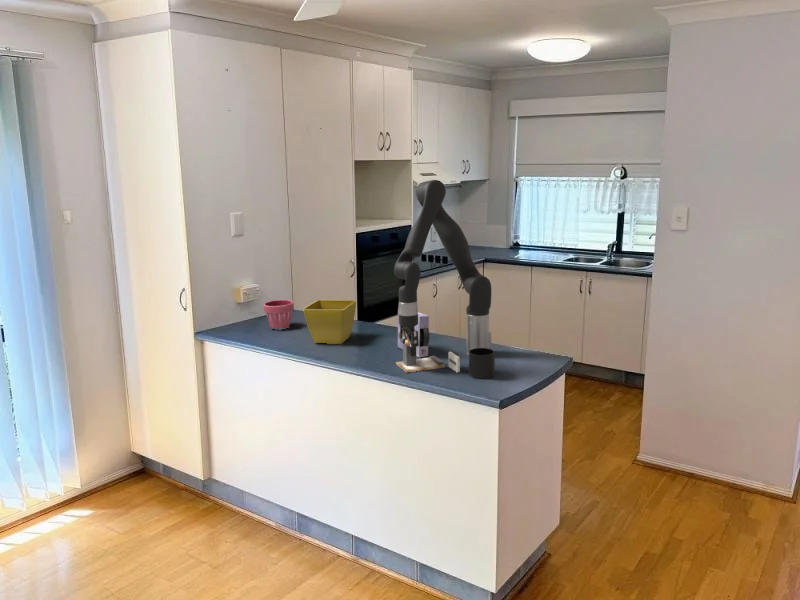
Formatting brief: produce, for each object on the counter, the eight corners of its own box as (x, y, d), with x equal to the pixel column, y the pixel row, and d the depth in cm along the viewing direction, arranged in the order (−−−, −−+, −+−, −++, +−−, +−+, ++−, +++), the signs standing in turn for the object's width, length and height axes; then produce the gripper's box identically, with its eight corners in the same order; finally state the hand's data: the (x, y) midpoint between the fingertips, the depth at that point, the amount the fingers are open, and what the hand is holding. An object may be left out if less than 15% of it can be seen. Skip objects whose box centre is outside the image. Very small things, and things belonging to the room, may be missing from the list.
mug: (503, 371, 244) (503, 348, 242) (485, 380, 235) (485, 356, 233) (481, 367, 250) (481, 344, 248) (464, 375, 241) (463, 352, 239)
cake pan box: (430, 356, 266) (430, 314, 262) (420, 359, 263) (419, 316, 259) (407, 346, 282) (406, 306, 278) (397, 348, 279) (395, 308, 276)
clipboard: (433, 358, 263) (433, 354, 262) (445, 367, 252) (445, 362, 251) (396, 364, 258) (395, 359, 257) (406, 372, 246) (406, 368, 246)
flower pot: (304, 345, 288) (302, 308, 284) (319, 334, 306) (317, 299, 302) (345, 347, 283) (343, 309, 279) (358, 335, 301) (356, 300, 297)
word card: (451, 366, 252) (450, 351, 251) (459, 372, 245) (459, 357, 244) (448, 366, 252) (448, 352, 251) (457, 372, 245) (456, 357, 243)
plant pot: (276, 333, 309) (274, 307, 306) (259, 328, 319) (257, 303, 316) (300, 327, 319) (299, 301, 316) (283, 323, 329) (281, 298, 326)
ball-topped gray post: (412, 361, 256) (412, 338, 254) (416, 364, 253) (415, 340, 251) (403, 363, 255) (402, 339, 253) (406, 366, 251) (406, 342, 249)
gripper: (424, 315, 244) (425, 357, 248) (411, 308, 257) (412, 347, 261) (405, 317, 242) (406, 359, 245) (393, 310, 255) (394, 349, 258)
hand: (409, 353), depth 253 cm, fingers open, 8 cm apart
